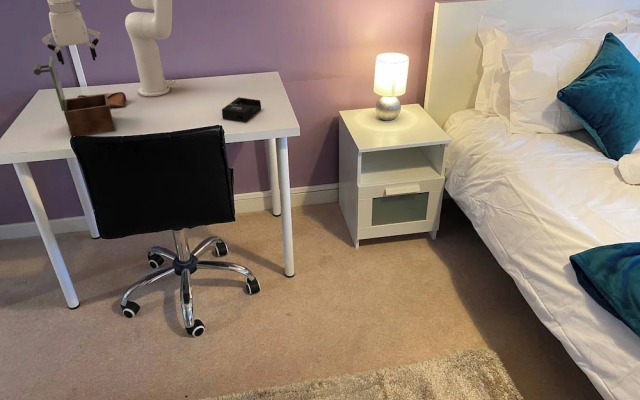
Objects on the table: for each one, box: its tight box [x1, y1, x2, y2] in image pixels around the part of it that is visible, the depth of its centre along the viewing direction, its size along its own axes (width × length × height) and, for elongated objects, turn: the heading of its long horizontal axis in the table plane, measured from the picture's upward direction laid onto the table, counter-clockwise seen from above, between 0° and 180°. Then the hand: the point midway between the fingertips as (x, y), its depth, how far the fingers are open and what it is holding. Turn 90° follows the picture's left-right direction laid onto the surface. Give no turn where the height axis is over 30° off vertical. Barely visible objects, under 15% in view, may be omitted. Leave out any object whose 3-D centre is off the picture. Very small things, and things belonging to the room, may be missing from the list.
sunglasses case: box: [76, 91, 127, 109], centre depth 189 cm, size 18×7×7 cm, turn 105°
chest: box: [63, 93, 116, 138], centre depth 170 cm, size 14×13×9 cm
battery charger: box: [221, 96, 262, 124], centre depth 180 cm, size 13×10×4 cm
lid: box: [33, 55, 66, 112], centre depth 160 cm, size 15×13×6 cm
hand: (78, 61), depth 161 cm, fingers open, 9 cm apart
